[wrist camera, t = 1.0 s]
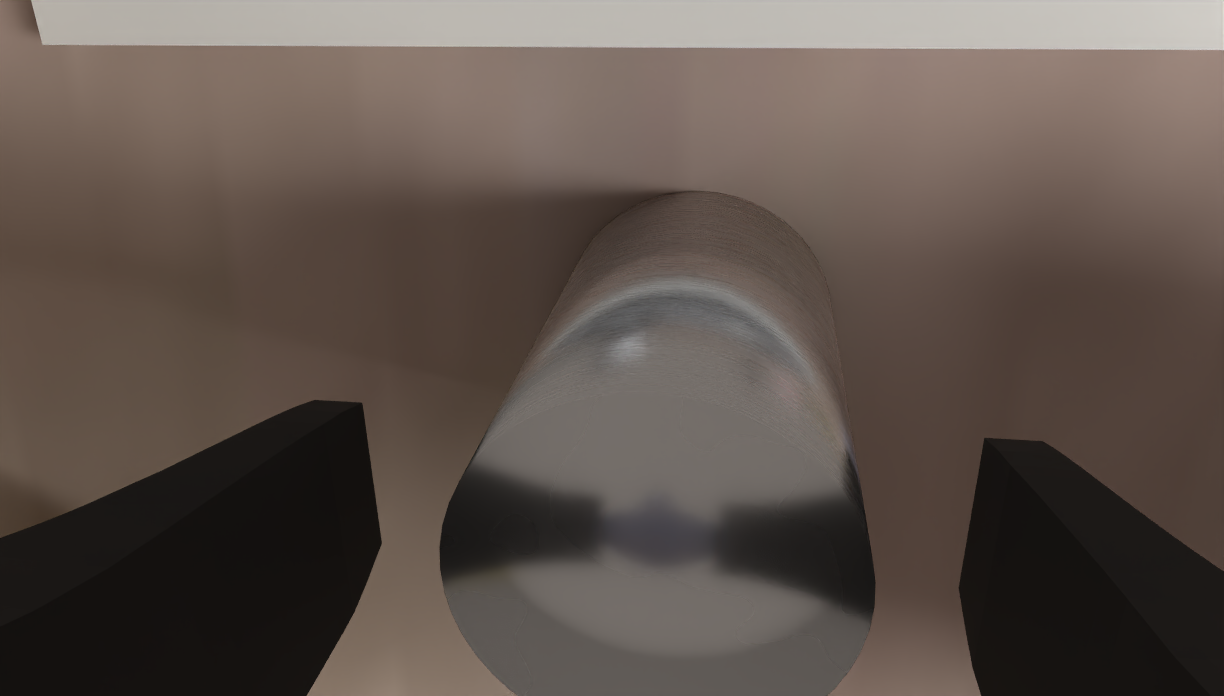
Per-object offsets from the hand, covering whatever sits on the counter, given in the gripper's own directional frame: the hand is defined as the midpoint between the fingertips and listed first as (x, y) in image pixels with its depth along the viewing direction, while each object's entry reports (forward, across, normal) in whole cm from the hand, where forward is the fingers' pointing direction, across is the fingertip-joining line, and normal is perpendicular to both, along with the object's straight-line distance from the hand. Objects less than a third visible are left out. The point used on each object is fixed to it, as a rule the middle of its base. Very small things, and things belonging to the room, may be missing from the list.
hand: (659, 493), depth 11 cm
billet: (+5, 0, 0) cm, 5 cm away
